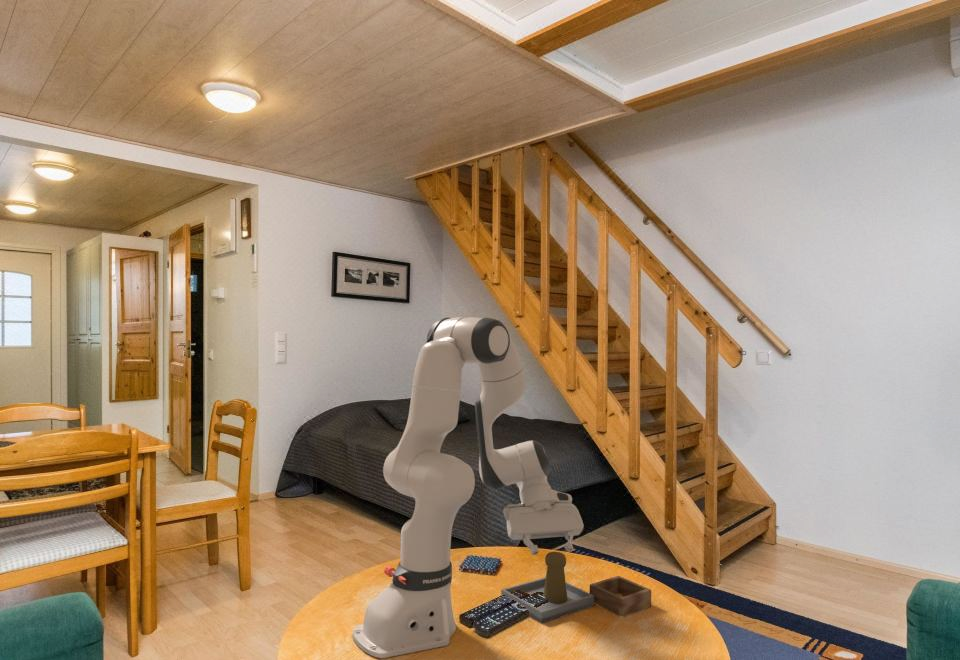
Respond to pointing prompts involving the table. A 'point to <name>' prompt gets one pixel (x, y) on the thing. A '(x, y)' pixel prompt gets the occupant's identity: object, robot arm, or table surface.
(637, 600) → the holder
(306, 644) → the table surface
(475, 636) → the table surface
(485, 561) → the woven mat
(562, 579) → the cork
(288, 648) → the table surface
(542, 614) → the tray
